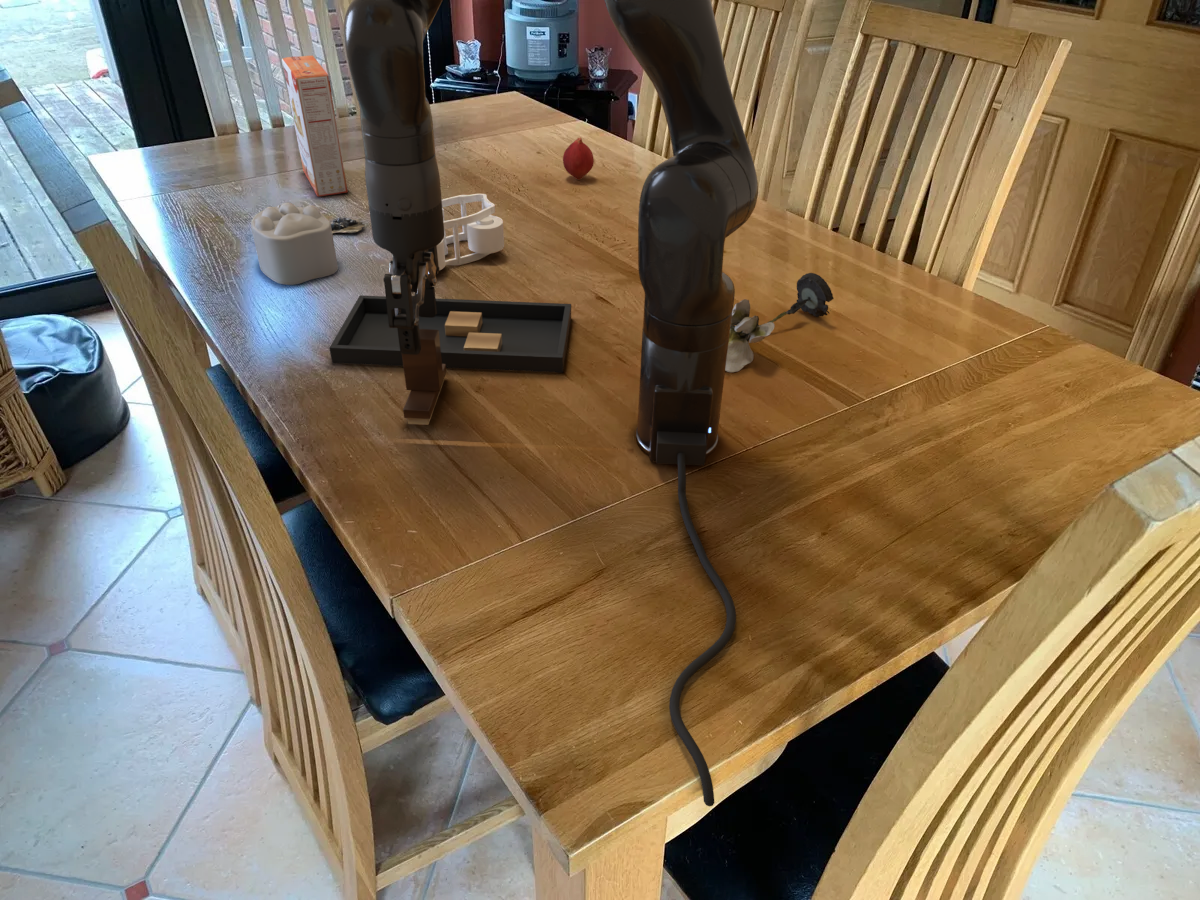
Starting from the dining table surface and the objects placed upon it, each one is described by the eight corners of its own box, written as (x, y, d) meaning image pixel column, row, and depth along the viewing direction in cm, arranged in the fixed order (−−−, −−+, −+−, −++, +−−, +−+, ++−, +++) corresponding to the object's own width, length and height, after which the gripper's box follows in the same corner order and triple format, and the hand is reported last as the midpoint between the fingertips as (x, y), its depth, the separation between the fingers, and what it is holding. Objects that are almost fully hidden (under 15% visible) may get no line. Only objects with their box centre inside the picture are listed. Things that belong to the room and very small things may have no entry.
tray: (562, 376, 114) (562, 357, 112) (332, 366, 114) (329, 347, 113) (571, 321, 125) (571, 303, 124) (362, 313, 126) (359, 295, 124)
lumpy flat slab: (368, 234, 148) (366, 223, 147) (319, 240, 146) (317, 229, 145) (361, 219, 153) (359, 208, 152) (313, 225, 151) (311, 214, 150)
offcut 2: (498, 359, 115) (497, 348, 115) (464, 358, 116) (463, 347, 115) (502, 344, 119) (501, 333, 118) (469, 342, 119) (468, 332, 118)
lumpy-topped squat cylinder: (281, 288, 132) (269, 233, 126) (247, 258, 140) (235, 205, 134) (346, 270, 137) (337, 216, 132) (310, 242, 145) (300, 190, 140)
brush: (435, 430, 104) (427, 357, 98) (401, 428, 104) (391, 356, 98) (451, 382, 112) (445, 313, 106) (419, 380, 112) (411, 311, 106)
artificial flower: (839, 333, 127) (861, 281, 119) (720, 397, 118) (735, 345, 110) (796, 295, 131) (815, 242, 123) (677, 354, 121) (690, 301, 113)
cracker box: (301, 173, 171) (280, 56, 158) (333, 169, 173) (314, 53, 160) (315, 198, 160) (293, 75, 148) (348, 193, 162) (330, 72, 150)
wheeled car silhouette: (412, 289, 132) (407, 243, 128) (374, 264, 139) (368, 219, 134) (520, 254, 143) (518, 210, 139) (479, 232, 150) (477, 189, 145)
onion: (558, 182, 169) (558, 140, 165) (568, 172, 174) (568, 131, 169) (588, 186, 168) (588, 143, 163) (597, 176, 172) (597, 134, 168)
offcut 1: (478, 337, 120) (477, 326, 119) (445, 335, 120) (444, 325, 119) (482, 322, 123) (481, 312, 122) (450, 321, 123) (450, 311, 122)
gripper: (386, 171, 99) (401, 303, 108) (349, 222, 87) (370, 364, 97) (453, 174, 98) (462, 306, 108) (426, 226, 87) (439, 368, 97)
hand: (419, 333), depth 102 cm, fingers open, 8 cm apart
